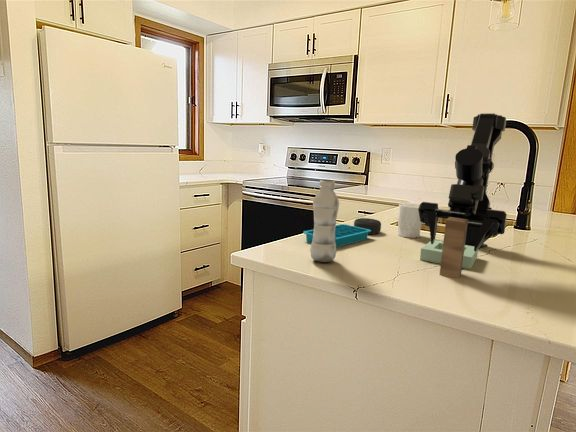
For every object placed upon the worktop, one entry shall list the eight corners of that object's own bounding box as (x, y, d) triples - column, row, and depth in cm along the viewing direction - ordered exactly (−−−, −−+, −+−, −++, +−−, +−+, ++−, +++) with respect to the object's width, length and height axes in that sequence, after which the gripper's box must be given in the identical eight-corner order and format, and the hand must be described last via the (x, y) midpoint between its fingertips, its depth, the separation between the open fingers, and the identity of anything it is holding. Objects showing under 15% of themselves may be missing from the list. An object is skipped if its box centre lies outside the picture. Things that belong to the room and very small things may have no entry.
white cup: (422, 239, 124) (426, 208, 122) (396, 237, 125) (399, 206, 124) (419, 233, 132) (422, 204, 130) (395, 231, 133) (398, 202, 131)
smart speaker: (370, 228, 138) (371, 217, 137) (385, 234, 130) (386, 222, 129) (348, 229, 134) (349, 218, 133) (363, 235, 126) (364, 223, 125)
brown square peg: (443, 270, 94) (449, 216, 91) (461, 273, 92) (468, 219, 89) (439, 274, 91) (446, 219, 88) (458, 278, 88) (465, 222, 86)
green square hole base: (430, 249, 112) (432, 239, 111) (477, 258, 105) (478, 247, 105) (419, 259, 102) (421, 248, 101) (470, 269, 95) (471, 257, 95)
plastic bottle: (338, 259, 99) (343, 180, 96) (332, 266, 93) (337, 182, 89) (313, 255, 101) (318, 178, 98) (306, 263, 95) (310, 180, 91)
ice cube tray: (300, 241, 116) (301, 231, 116) (342, 232, 130) (342, 223, 130) (331, 250, 108) (332, 239, 108) (372, 239, 122) (373, 230, 122)
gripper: (424, 168, 95) (406, 219, 88) (512, 174, 85) (500, 233, 78) (428, 197, 103) (412, 246, 96) (509, 206, 93) (498, 261, 86)
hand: (452, 246), depth 89 cm, fingers open, 9 cm apart
